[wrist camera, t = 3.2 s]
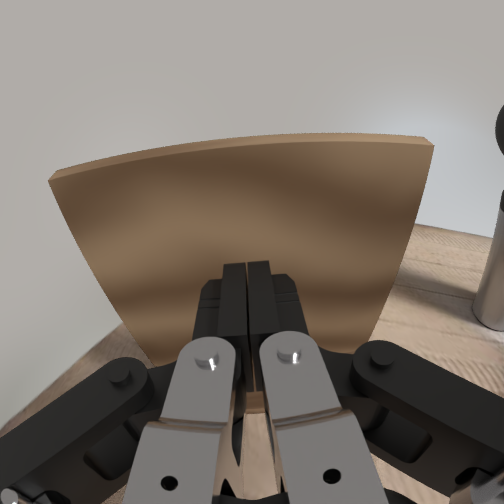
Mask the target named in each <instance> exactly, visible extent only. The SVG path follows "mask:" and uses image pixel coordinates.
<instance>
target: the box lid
mask: <svg viewBox="0 0 504 504" xmlns="http://www.w3.org/2000/svg"><path fill="white" fill-rule="evenodd" d="M433 150H434V145H433V144H432V143H431V142H429V141H428V140H427V139H425V138H424V137H417V136H405V135H389V134H388V135H387V134H364V133H304V134H303V133H302V134H280V135H263V136H250V137H238V138H227V139H218V140H209V141H201V142H193V143H186V144H179V145H172V146H166V147H161V148H155V149H148V150H143V151H138V152H132V153H127V154H122V155H118V156H113V157H109V158H104V159H100V160H95V161H91V162H87V163H83V164H79V165H75V166H71V167H68V168H64V169H60V170H57V171H56V172H55V173H54V174H53V175H52V176H51V178H50V179H49V180H48V182H49V185H50V187H51V189H52V192H53V194H54V196H55V199H56V201H57V203H58V205H59V208H60V210H61V212H62V214H63V216H64V218H65V220H66V222H67V225H68V227H69V229H70V231H71V233H72V235H73V237H74V239H75V241H76V243H77V244H78V246H79V248H80V250H81V252H82V254H83V256H84V258H85V259H86V261H87V263H88V265H89V267H90V269H91V270H92V272H93V273H94V276H95V277H96V279H97V281H98V282H99V284H100V286H101V287H102V289H103V291H104V293H105V294H106V296H107V297H108V299H109V301H110V302H111V304H112V305H113V307H114V309H115V310H116V312H117V313H118V315H119V316H120V318H121V319H122V321H123V322H124V324H125V325H126V327H127V328H128V330H129V331H130V333H131V334H132V336H133V337H134V339H135V340H136V341H137V343H138V344H139V346H140V347H141V349H142V350H143V351H144V353H145V354H146V355H147V357H148V358H149V359H150V361H151V362H152V363H153V365H154V366H163V365H166V364H170V363H172V362H174V361H176V360H177V359H178V356H179V353H180V351H181V350H182V349H183V348H184V346H186V345H187V344H188V343H190V342H191V341H192V336H193V330H194V325H195V319H196V314H197V310H198V303H199V298H200V293H201V289H202V287H203V286H204V285H205V284H206V283H207V282H208V280H211V279H222V275H223V265H224V264H228V263H241V262H245V263H246V271H247V282H248V270H247V262H252V261H264V260H269V264H270V270H271V275H273V274H285V273H286V274H287V275H288V276H289V277H290V278H291V279H292V280H294V281H295V285H296V288H297V293H298V296H299V299H300V303H301V307H302V310H303V314H304V318H305V321H306V325H307V329H308V333H309V335H310V337H311V338H312V339H313V340H314V341H315V342H316V344H317V345H318V346H320V347H321V348H323V349H326V350H328V351H332V352H338V353H346V352H352V351H356V350H357V348H358V347H360V346H361V345H362V344H364V343H366V342H368V340H369V338H370V336H371V334H372V332H373V330H374V328H375V325H376V323H377V321H378V319H379V316H380V314H381V312H382V310H383V307H384V305H385V302H386V300H387V298H388V295H389V293H390V290H391V288H392V285H393V283H394V280H395V278H396V275H397V272H398V270H399V267H400V264H401V262H402V259H403V256H404V253H405V250H406V247H407V244H408V242H409V239H410V235H411V232H412V229H413V226H414V223H415V219H416V216H417V213H418V209H419V206H420V202H421V198H422V195H423V192H424V188H425V184H426V180H427V176H428V172H429V168H430V164H431V159H432V155H433Z"/></svg>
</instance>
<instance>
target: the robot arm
mask: <svg viewBox="0 0 504 504" xmlns="http://www.w3.org/2000/svg"><path fill="white" fill-rule="evenodd" d="M495 128H496V129H495V133H496V139H497V143H498V146H499V148H500V150H501V152H502V153H503V155H504V105H503V107H502V108H501V110H500V112H499V114H498V117H497V121H496V127H495ZM247 270H248V282H247V271H246V263H245V262H241V263H228V264H224V265H223V275H222V279H211V280H208V282H207V283H206V284H205V285H204V286H203V287H202V289H201V293H200V298H199V303H198V310H197V314H196V319H195V325H194V330H193V336H192V341H191V342H190V343H188V344H187V345H186V346H184V348H183V349H182V350H181V351H180V353H179V356H178V359H177V360H176V361H174V362H172V363H170V364H166V365H163V366H159V367H155V368H151V369H147V368H146V367H145V365H144V364H143V363H142V362H141V361H139V360H137V359H135V358H130V357H123V358H118V359H115V360H112V361H110V362H109V363H107V364H106V365H104V366H103V367H101V368H100V369H98V370H97V371H96V372H94V373H93V374H91V375H90V376H89V377H87V378H86V379H84V380H83V381H81V382H80V383H79V384H77V385H76V386H74V387H73V388H71V389H70V390H69V391H67V392H66V393H64V394H63V395H62V396H60V397H59V398H57V399H56V400H54V401H53V402H52V403H50V404H49V405H47V406H46V407H44V408H43V409H42V410H40V411H39V412H37V413H36V414H34V415H33V416H31V417H30V418H29V419H27V420H26V421H24V422H23V423H21V424H20V425H19V426H17V427H16V428H14V429H13V430H11V431H10V432H8V433H7V434H6V435H4V436H3V437H1V438H0V504H101V503H102V502H103V501H105V500H106V499H107V498H109V497H110V496H111V495H113V494H114V493H115V492H117V491H118V490H119V489H120V488H122V487H123V486H124V485H125V484H127V487H126V491H125V494H124V498H123V502H122V504H417V503H415V502H414V501H412V500H411V499H409V498H407V497H405V496H404V495H402V494H399V493H397V492H395V491H392V490H389V489H386V488H383V486H382V483H381V481H380V478H379V475H378V473H377V470H376V467H375V465H374V462H373V459H372V457H371V454H370V452H371V453H372V454H374V455H375V456H377V457H378V458H380V459H382V460H383V461H385V462H387V463H388V464H390V465H391V466H393V467H395V468H396V469H398V470H400V471H402V472H403V473H405V474H407V475H408V476H410V477H412V478H414V479H415V480H417V481H419V482H421V483H423V484H424V485H426V486H428V487H430V488H432V489H434V490H436V491H438V492H439V493H441V494H443V495H445V496H447V497H449V498H450V501H449V504H504V398H502V397H500V396H498V395H496V394H494V393H492V392H490V391H488V390H486V389H484V388H482V387H480V386H478V385H476V384H474V383H472V382H470V381H468V380H465V379H463V378H461V377H459V376H457V375H455V374H453V373H451V372H449V371H447V370H445V369H443V368H442V367H440V366H438V365H436V364H434V363H432V362H430V361H428V360H426V359H424V358H422V357H420V356H418V355H416V354H414V353H412V352H410V351H408V350H406V349H404V348H402V347H400V346H398V345H396V344H394V343H392V342H388V341H383V340H374V341H369V342H366V343H364V344H362V345H361V346H360V347H358V348H357V350H356V351H355V353H354V354H348V353H338V352H332V351H328V350H326V349H323V348H321V347H320V346H318V345H317V344H316V342H315V341H314V340H313V339H312V338H311V337H310V335H309V333H308V329H307V325H306V321H305V318H304V314H303V310H302V307H301V303H300V299H299V296H298V293H297V288H296V285H295V281H294V280H292V279H291V278H290V277H289V276H288V275H287V274H286V273H285V274H273V275H271V270H270V264H269V260H264V261H252V262H247ZM472 307H473V312H474V314H475V316H476V317H477V318H478V320H479V321H480V322H482V323H483V324H484V325H486V326H487V327H489V328H492V329H494V330H498V331H504V190H503V192H502V196H501V202H500V208H499V214H498V218H497V223H496V228H495V232H494V236H493V241H492V245H491V248H490V252H489V256H488V259H487V263H486V266H485V270H484V273H483V276H482V279H481V282H480V285H479V288H478V291H477V294H476V297H475V300H474V302H473V306H472ZM253 366H254V374H255V383H256V392H259V391H263V399H264V410H265V418H266V424H267V430H268V435H269V441H270V447H271V453H272V458H273V464H274V470H275V477H276V484H277V491H278V494H276V495H272V496H269V497H266V498H262V499H258V500H246V499H243V475H242V469H243V454H244V439H245V425H246V408H247V396H246V392H254V378H253Z"/></svg>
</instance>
